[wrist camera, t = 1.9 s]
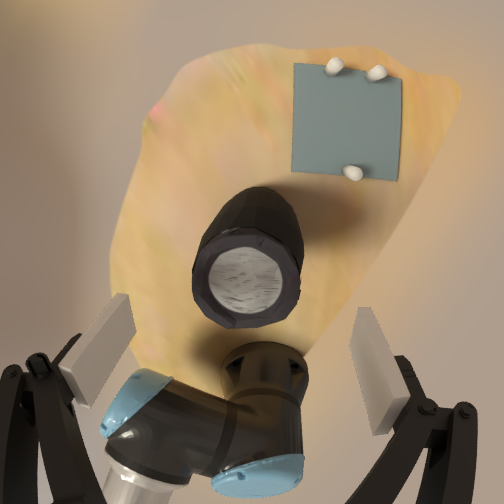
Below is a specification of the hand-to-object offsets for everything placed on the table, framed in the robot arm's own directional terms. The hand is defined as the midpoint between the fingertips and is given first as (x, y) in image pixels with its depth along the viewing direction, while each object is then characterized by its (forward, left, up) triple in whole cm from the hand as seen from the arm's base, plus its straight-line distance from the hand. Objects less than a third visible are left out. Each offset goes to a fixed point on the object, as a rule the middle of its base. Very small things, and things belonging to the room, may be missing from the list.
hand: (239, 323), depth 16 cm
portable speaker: (0, 0, -24) cm, 24 cm away
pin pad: (+13, -11, -24) cm, 29 cm away
